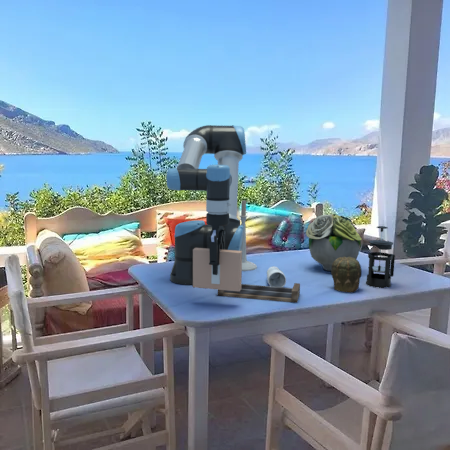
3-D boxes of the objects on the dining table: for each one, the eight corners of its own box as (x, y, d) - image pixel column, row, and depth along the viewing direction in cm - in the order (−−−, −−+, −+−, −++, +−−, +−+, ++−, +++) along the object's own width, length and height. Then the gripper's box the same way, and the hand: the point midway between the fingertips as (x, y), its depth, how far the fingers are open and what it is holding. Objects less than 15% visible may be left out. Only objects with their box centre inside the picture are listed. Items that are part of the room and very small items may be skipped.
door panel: (192, 287, 161) (192, 249, 159) (195, 284, 164) (195, 247, 162) (239, 291, 158) (240, 253, 155) (241, 288, 160) (242, 250, 158)
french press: (374, 289, 181) (378, 229, 178) (359, 282, 190) (362, 225, 186) (399, 286, 185) (404, 227, 182) (383, 280, 194) (387, 223, 190)
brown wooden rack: (217, 295, 170) (217, 284, 170) (224, 287, 180) (224, 277, 179) (297, 302, 164) (297, 291, 163) (299, 294, 173) (300, 283, 173)
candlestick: (256, 264, 218) (257, 198, 213) (257, 271, 205) (259, 201, 200) (228, 263, 218) (229, 197, 213) (227, 270, 205) (228, 200, 201)
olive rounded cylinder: (355, 284, 187) (356, 254, 185) (364, 293, 176) (366, 261, 174) (327, 284, 186) (328, 254, 184) (334, 293, 176) (336, 261, 174)
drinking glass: (278, 283, 193) (282, 291, 178) (262, 278, 193) (265, 286, 178) (284, 267, 192) (288, 274, 177) (268, 262, 192) (271, 269, 177)
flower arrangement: (292, 268, 211) (294, 213, 207) (327, 260, 227) (329, 209, 224) (340, 280, 193) (343, 220, 189) (374, 270, 209) (377, 215, 205)
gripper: (223, 217, 148) (222, 290, 152) (234, 209, 163) (233, 276, 167) (199, 215, 149) (199, 288, 154) (213, 208, 165) (212, 274, 169)
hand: (217, 281), depth 160 cm, fingers closed on door panel, 3 cm apart
